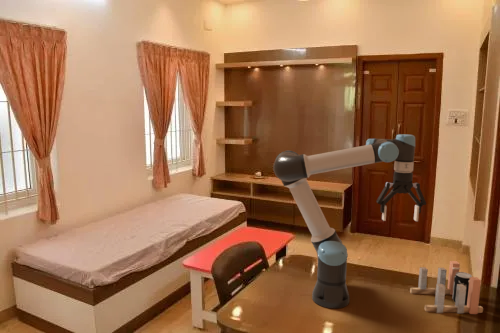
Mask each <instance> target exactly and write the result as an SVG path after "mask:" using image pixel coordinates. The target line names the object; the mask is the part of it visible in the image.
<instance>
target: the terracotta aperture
mask: <svg viewBox="0 0 500 333" xmlns="http://www.w3.org/2000/svg"><path fill="white" fill-rule="evenodd" d="M460 264H461V263H460V262H458V261H457V260H449V270H448V280H447V288H449V289H450V294H449V295H450V296H451V295H452V296H453V286H454V276H455V275H456V273H457V272H460V269H461V267H460V266H461V265H460ZM468 282H469V289H468V299H467V305H466V306H468V307H469V312H468V313H469V315H478V314H479V313H478V306H479V303H480V302H479V301H480V293H481V283H482V280H481V279H480V278H479V277H477V276H472V277H470V280H469V281H468Z"/></svg>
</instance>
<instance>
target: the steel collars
mask: <svg viewBox="0 0 500 333" xmlns="http://www.w3.org/2000/svg"><path fill="white" fill-rule="evenodd" d="M446 281H447V268H445V267H438V268H437V280H436V284H435V288H436V294H434V295H435V296H434V297H435V298H434V305H435V306H436V312H435V313H436V314H444V312H443V308H444V305H445V295H446V294H445V288H446ZM427 283H428V268H427V267H426V266H425V267H424V266H422V267H421V266H420V267H419V274H418V285H417V286H418V287H417V288H420V289H426V288H427ZM465 295H466V286H464V285H463V284H457V289H456V299H455V302H454V306H456V307H457V310H456V312H455V313H456V314H465V312H464V306H466V305H465Z"/></svg>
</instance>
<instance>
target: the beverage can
mask: <svg viewBox="0 0 500 333" xmlns="http://www.w3.org/2000/svg"><path fill="white" fill-rule="evenodd" d="M470 277H473V276H472V274H470V273H467V272H464V271H459V272H457V273H456V275H455V276H454V286H453V295H452V301H453V302H454V303H455V299H456V289H457V284H463V285H464V286H466V295H465V305H464V306H467V299H468V289H469V282H468V281H469V280H470Z"/></svg>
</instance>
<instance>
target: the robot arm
mask: <svg viewBox="0 0 500 333" xmlns="http://www.w3.org/2000/svg"><path fill="white" fill-rule="evenodd" d="M415 150H416V136H415V135H413V134H407V133H406V134H404V133H403V134H401V133H399V134H396V136H395V138H391V139H389V138H367V140H366V141H365V145H361V146H355V147H349V148H344V149H339V150H333V151H328V152H323V153H317V154H312V155H311V154H310V155H307V154H305V153H304V154H303V153H302V154H298V153H297V152H295V151H293V150H284V151H282V152H281V153H279V154H278V155H277V156H276V158H275V160H274V162H273V168H272V169H273V173H274V176H275V177H277V179H278V180H280V181H281V183H282V185H283V187H285V188H288V189H289V192H290V193H291V195H292V198H293V199H294V202H295V204H296V205H297V208H298V210H299V212H300V213H301V216H302V218H303V219H304V222H305V224H306V226H307V228H308V230H309V232H310V234H311V238H310V243H312V246H313V248H314V249H315V252H316V255H317V256H316V258H317V274H316V282H315V285H314V287H313V290H312V292H311V293H312V294H311V297H312V301H313V302H314V303H315V304H316V305H318V306H321V307H324V308H328V309H341V308H345V307H347V306H348V305H349V303H350V294H349V293H350V292H349V291H348V287H347V281H346V280H347V267H348V266H347V263H348V250H347V246H346V245H345V244H343V242H342V240H341V238H340V237H339V235H338V234H337V231H336V229H335V228H333V227H330V224H329V223H328V221H327V219H326V216H325V215H324V213H323V210H322V209H321V207H320V204H319V203H318V201H317V198H316V197H315V194H314V193H313V190H312V188H311V186H310V184H309V182H308V180H307V179H309V178H310V176H312V175H316V174H321V173H322V174H323V173H327V172H332V171H338V170H342V169H349V168H354V167H361V166H364V165H365V166H367V165H371V164H377V163H383V162H384V163H391V162H394V164H393V170H394V171H393V177H392V178H393V179H392V180H393V181H392V182H388V181H386V182H385V184H384V187H383V189H382V191H381V192H380V194H379V196H378V197H377V199H376V202H375V203H377V204H379V205H380V213H382V214H381V220H382V221H383V222H386V221H387V220H386V219H387V205H386V204H387V203H388V202H389V201H390V200H391V199H392V198H393V197H395V195H397V194H408V195H409V196H410V198H411V199H412V201H414V203H415V205H414V213H413V220H414V221H415V222H419V214H421V212H422V207H423V206H426V205H427V201H426V199H425V196H424V195H423V192H422V189H421V184H420V183H418V182H417V181H416V182H414V183H413V178H414V177H413V175H414V173H413V172H414V166H415V165H414V162H415ZM391 188H392V189H391ZM412 188H414V189H415V191H416V194H417V196H418V197H417V196H416V194H415V193H414V192H413V191H412V190H411V189H412ZM389 189H391V190H390V191H389ZM388 191H389V193H388ZM387 193H388V194H387Z"/></svg>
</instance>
